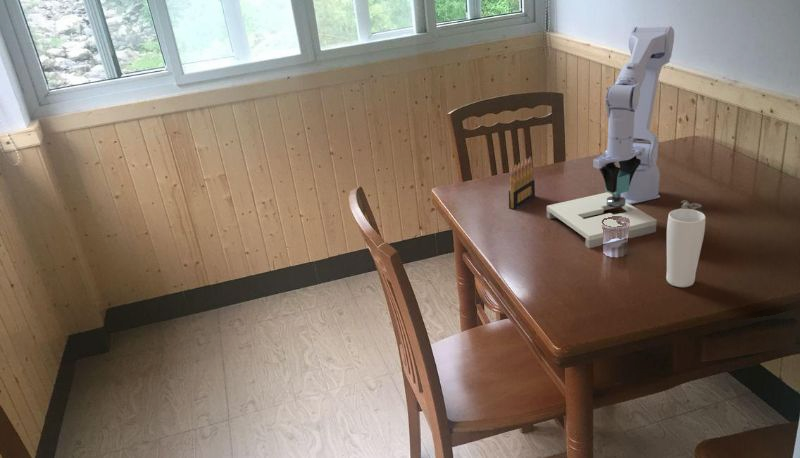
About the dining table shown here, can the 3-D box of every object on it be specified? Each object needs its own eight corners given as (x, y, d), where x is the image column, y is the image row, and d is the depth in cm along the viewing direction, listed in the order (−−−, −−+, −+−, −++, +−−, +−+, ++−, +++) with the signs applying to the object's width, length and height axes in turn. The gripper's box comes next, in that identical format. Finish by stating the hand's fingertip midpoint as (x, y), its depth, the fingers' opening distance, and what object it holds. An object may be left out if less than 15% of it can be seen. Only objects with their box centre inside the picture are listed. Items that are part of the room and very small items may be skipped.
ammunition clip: (514, 209, 167) (513, 168, 162) (508, 208, 168) (507, 167, 163) (535, 196, 174) (534, 155, 169) (529, 195, 175) (528, 154, 170)
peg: (616, 198, 156) (617, 169, 152) (629, 204, 152) (631, 174, 149) (602, 203, 154) (604, 173, 151) (615, 208, 151) (617, 178, 147)
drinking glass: (656, 276, 129) (661, 210, 123) (687, 271, 129) (694, 206, 123) (672, 292, 123) (678, 224, 117) (704, 287, 123) (713, 220, 117)
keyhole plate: (607, 203, 164) (607, 192, 163) (655, 232, 147) (656, 219, 145) (546, 217, 161) (546, 205, 159) (588, 248, 143) (589, 236, 142)
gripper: (631, 125, 151) (628, 177, 157) (584, 138, 146) (583, 191, 152) (653, 131, 145) (649, 185, 151) (606, 145, 140) (604, 200, 146)
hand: (617, 189), depth 151 cm, fingers closed on peg, 4 cm apart
